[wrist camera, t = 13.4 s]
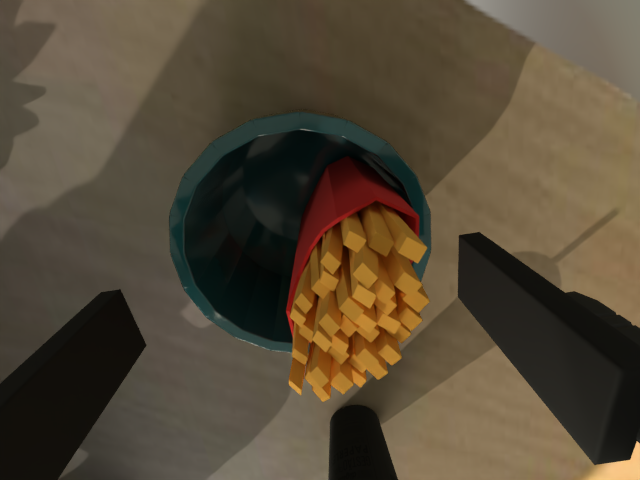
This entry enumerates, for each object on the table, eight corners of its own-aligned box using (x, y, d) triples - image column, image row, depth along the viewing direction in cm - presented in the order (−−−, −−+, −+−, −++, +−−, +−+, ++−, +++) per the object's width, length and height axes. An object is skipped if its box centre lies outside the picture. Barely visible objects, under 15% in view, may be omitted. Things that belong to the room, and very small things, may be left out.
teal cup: (240, 290, 25) (212, 367, 18) (191, 127, 20) (125, 140, 13) (396, 267, 25) (433, 335, 17) (384, 94, 20) (429, 89, 13)
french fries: (339, 135, 19) (363, 225, 9) (395, 162, 20) (477, 275, 10) (286, 244, 23) (258, 398, 12) (335, 264, 24) (347, 423, 13)
